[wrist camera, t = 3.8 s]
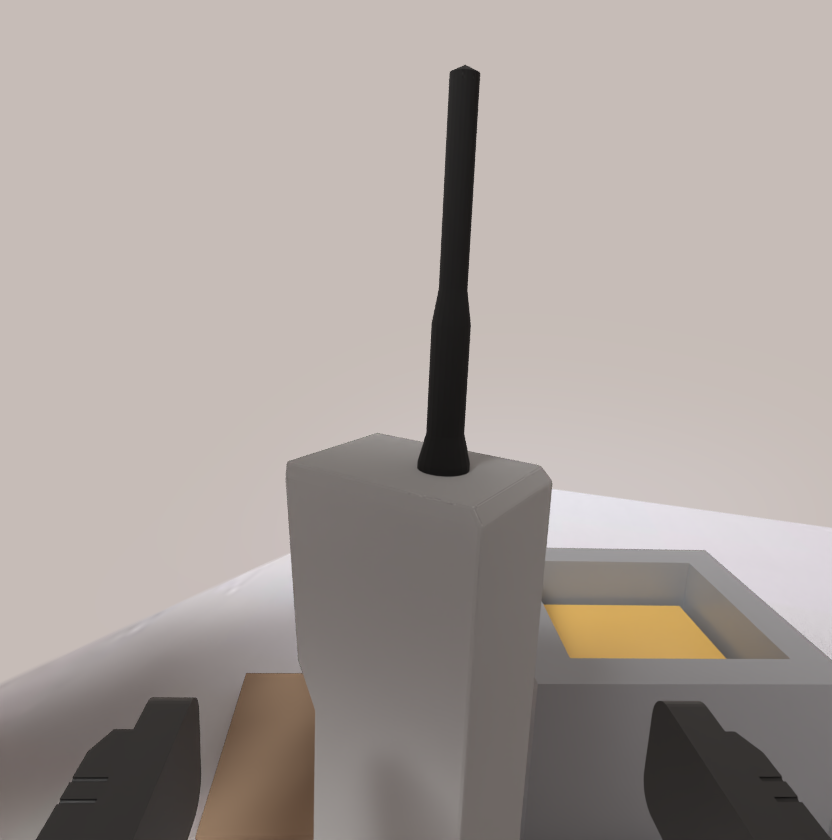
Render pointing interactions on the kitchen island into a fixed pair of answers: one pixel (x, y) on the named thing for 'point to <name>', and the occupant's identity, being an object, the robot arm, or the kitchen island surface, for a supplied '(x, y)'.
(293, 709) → the walnut pad
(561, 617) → the amber button
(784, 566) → the kitchen island surface
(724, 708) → the box
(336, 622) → the vintage mobile phone
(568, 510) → the kitchen island surface
